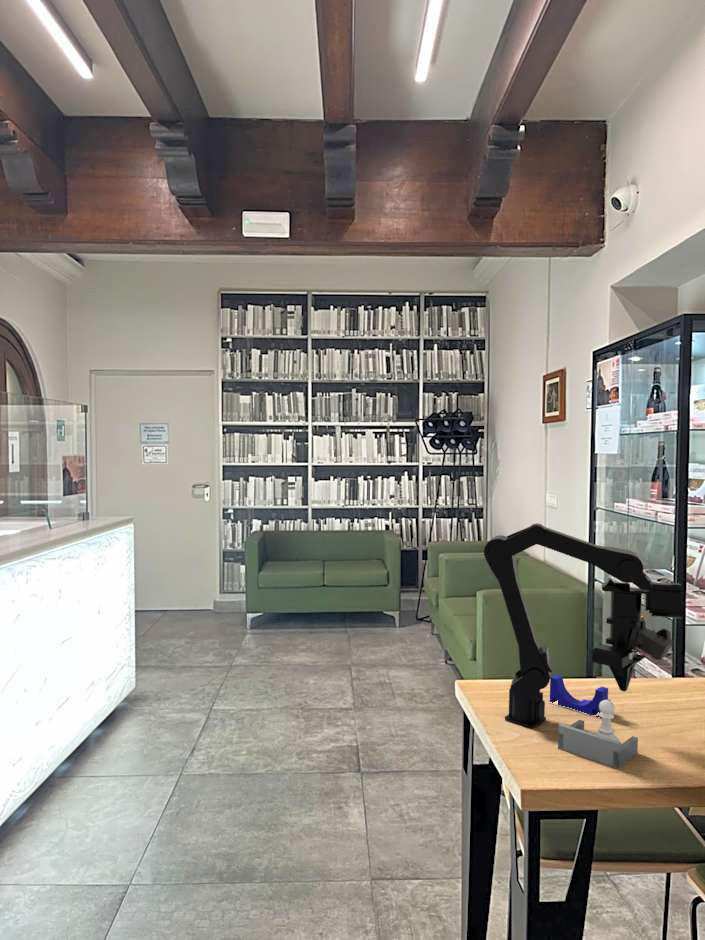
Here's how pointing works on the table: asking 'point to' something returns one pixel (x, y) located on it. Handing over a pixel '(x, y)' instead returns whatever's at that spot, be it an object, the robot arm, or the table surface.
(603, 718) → the chess pawn
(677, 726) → the table surface
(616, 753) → the box
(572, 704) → the blue concave cradle
